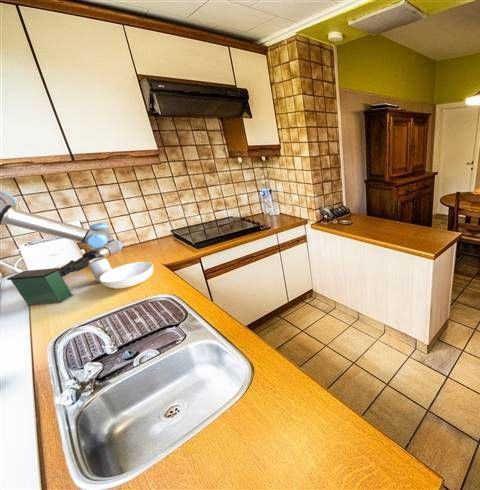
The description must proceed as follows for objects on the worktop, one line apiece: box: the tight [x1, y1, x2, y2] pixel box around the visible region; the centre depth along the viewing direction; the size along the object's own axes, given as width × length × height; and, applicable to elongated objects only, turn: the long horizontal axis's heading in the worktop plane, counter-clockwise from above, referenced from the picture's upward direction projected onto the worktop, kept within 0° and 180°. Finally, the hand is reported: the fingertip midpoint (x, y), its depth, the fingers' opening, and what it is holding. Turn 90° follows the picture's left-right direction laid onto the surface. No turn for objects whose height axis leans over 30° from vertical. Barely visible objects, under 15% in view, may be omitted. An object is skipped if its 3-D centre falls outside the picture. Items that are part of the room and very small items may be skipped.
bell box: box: [6, 267, 73, 307], centre depth 122 cm, size 15×7×15 cm, turn 95°
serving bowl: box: [100, 261, 154, 289], centre depth 135 cm, size 21×21×7 cm
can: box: [88, 257, 113, 283], centre depth 139 cm, size 8×8×12 cm
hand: (54, 277), depth 127 cm, fingers closed
